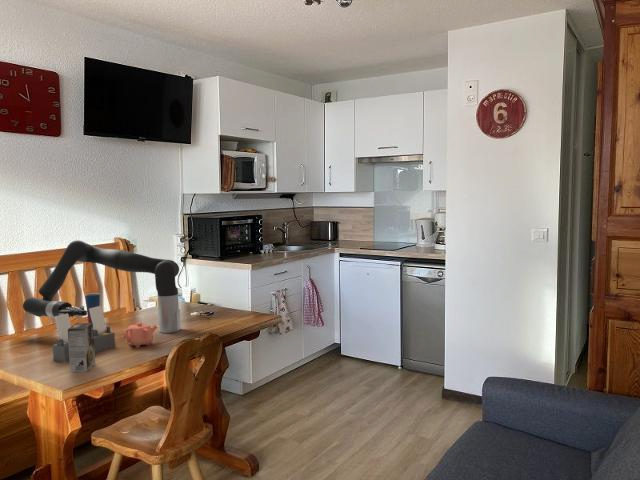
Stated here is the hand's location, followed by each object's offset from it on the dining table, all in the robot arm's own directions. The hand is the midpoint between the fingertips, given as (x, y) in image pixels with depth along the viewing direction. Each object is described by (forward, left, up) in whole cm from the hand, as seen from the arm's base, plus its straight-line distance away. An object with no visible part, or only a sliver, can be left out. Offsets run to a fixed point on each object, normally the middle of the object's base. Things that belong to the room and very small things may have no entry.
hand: (85, 313), depth 230 cm
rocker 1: (0, +18, -7) cm, 20 cm away
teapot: (-24, +1, -14) cm, 28 cm away
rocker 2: (-8, +4, -7) cm, 11 cm away
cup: (+12, -40, -14) cm, 44 cm away
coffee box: (-11, +31, -14) cm, 36 cm away
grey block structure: (-4, +11, -14) cm, 18 cm away
